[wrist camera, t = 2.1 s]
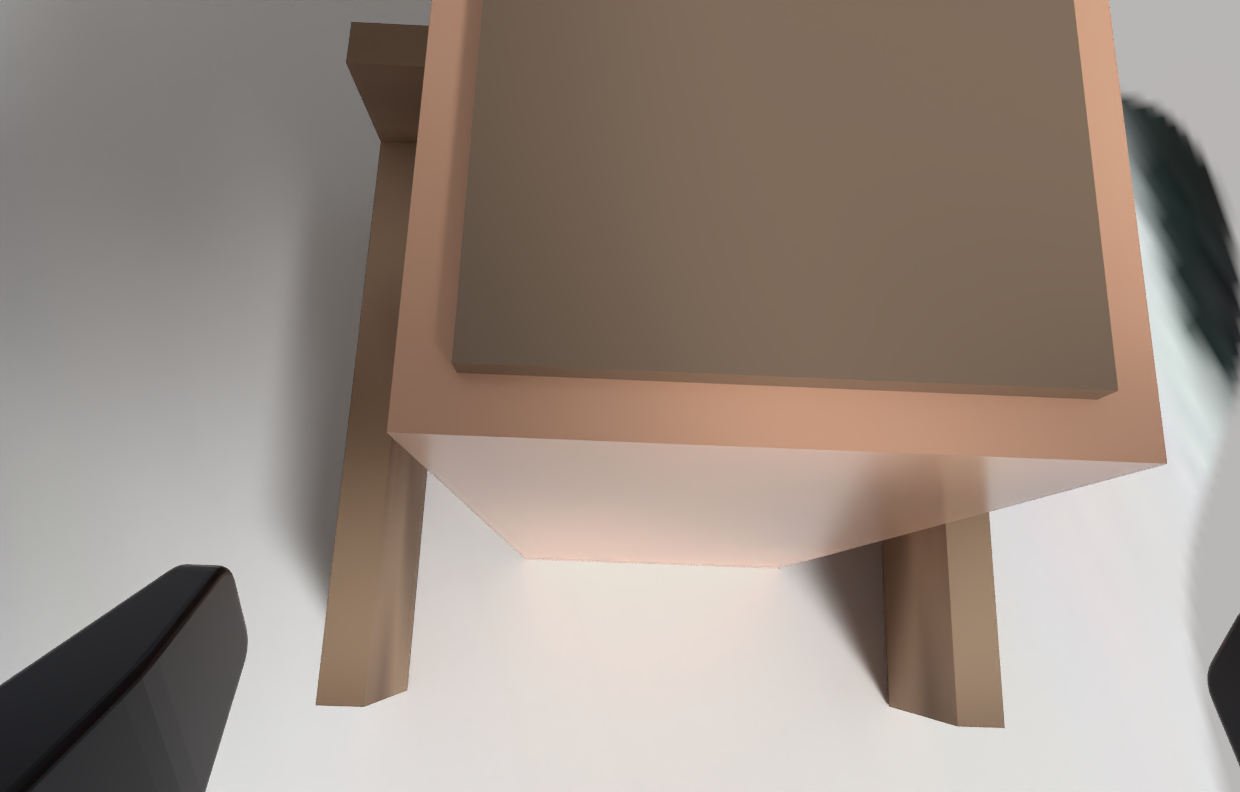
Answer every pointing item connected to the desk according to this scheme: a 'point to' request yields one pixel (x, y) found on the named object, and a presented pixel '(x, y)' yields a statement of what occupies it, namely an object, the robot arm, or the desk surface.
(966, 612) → the brown l-shaped block
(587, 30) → the tall peach pillar
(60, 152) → the desk surface
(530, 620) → the desk surface
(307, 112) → the desk surface
